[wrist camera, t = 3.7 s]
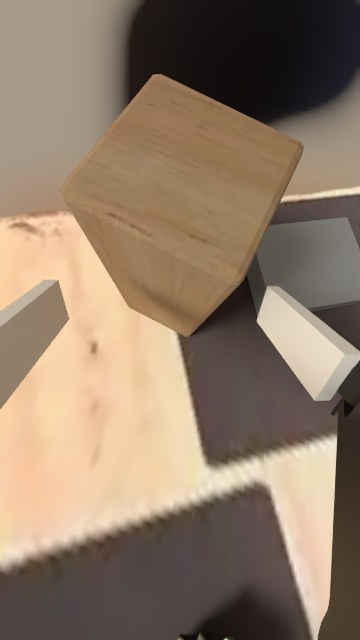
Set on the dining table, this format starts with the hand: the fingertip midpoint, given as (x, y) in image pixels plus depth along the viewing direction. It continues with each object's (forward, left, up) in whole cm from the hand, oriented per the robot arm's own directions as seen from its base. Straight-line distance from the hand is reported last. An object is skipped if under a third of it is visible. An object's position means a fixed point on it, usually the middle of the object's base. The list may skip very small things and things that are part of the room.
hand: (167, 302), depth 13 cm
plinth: (-22, -7, -16) cm, 28 cm away
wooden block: (-2, -6, -16) cm, 17 cm away
